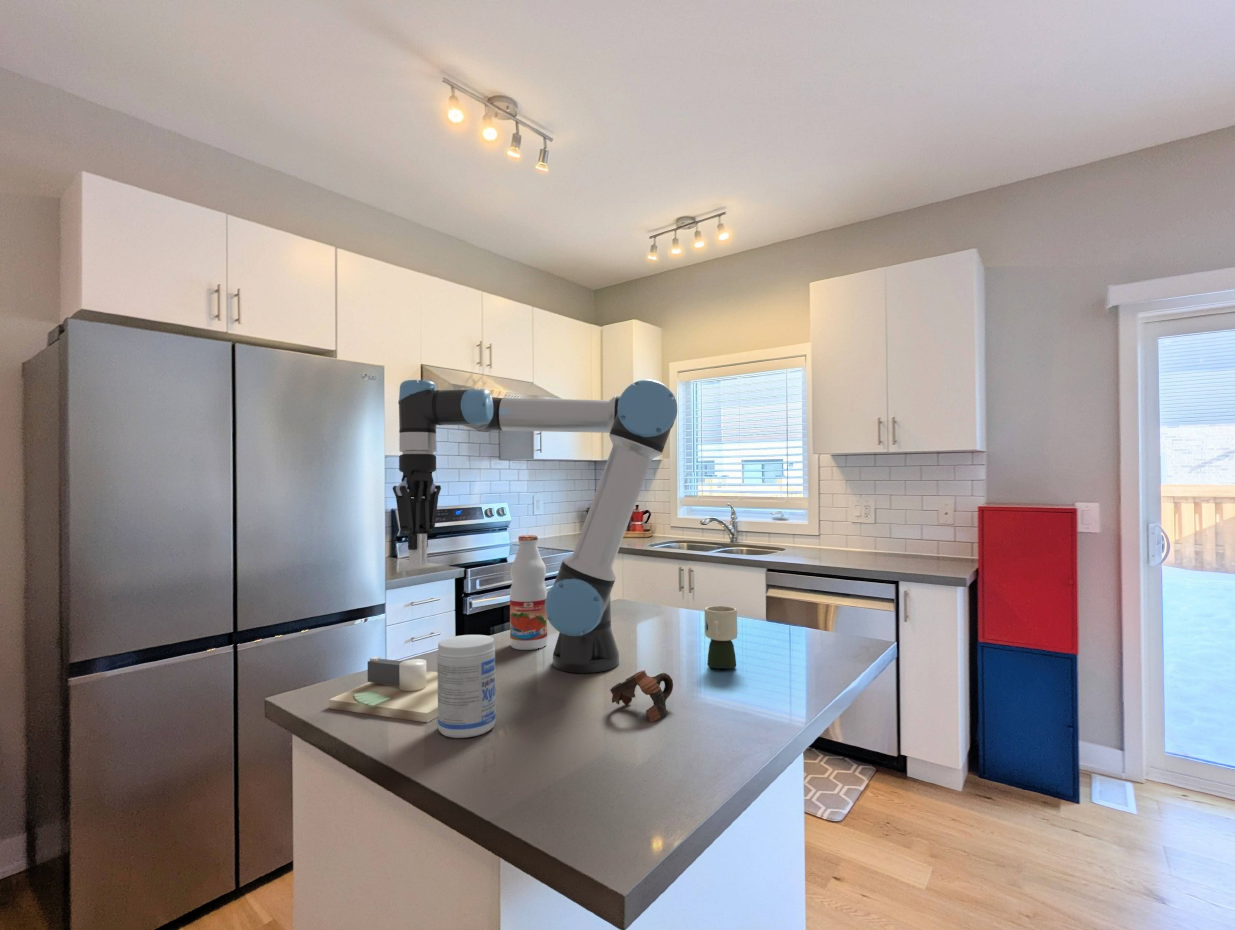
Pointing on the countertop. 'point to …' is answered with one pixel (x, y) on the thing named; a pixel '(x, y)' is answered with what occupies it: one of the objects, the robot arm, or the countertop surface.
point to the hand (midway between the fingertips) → (418, 564)
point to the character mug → (721, 635)
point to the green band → (370, 698)
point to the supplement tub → (466, 685)
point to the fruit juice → (528, 597)
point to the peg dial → (398, 673)
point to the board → (394, 700)
